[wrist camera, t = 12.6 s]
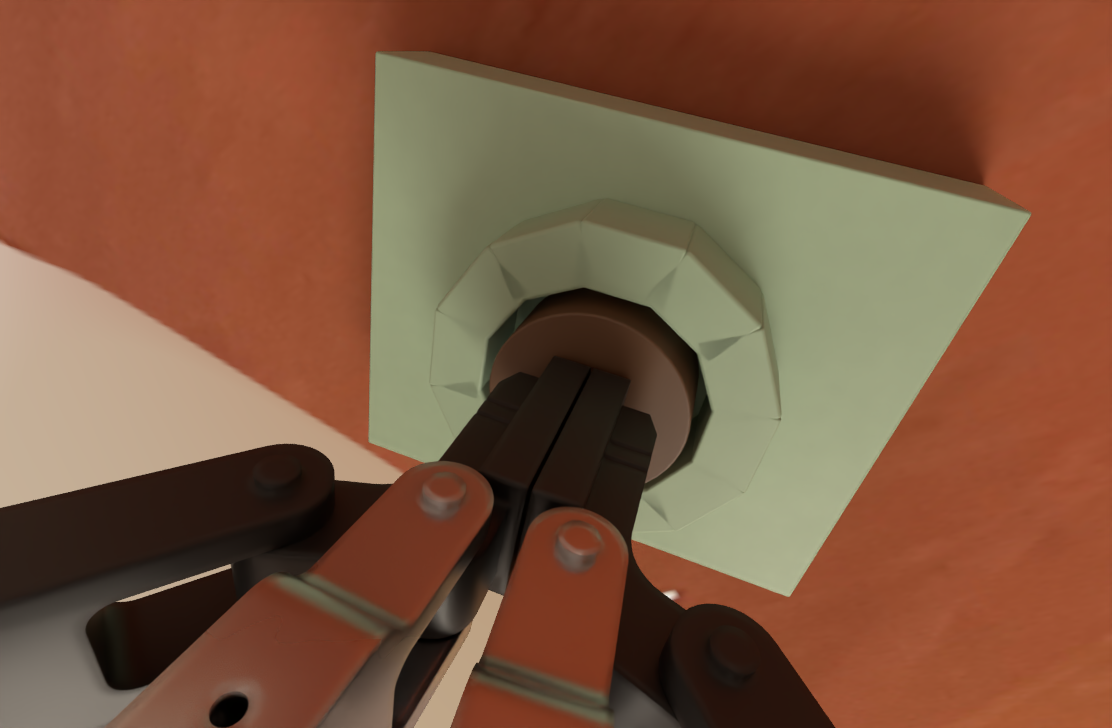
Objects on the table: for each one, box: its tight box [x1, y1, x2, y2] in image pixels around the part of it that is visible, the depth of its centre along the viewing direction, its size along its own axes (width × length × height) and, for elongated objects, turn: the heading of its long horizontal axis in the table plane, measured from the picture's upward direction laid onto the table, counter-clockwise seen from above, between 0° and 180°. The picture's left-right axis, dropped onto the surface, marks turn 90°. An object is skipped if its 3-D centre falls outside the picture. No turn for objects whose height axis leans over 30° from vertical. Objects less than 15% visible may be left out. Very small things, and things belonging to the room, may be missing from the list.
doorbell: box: [369, 51, 1031, 597], centre depth 13 cm, size 12×10×4 cm
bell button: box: [489, 287, 699, 483], centre depth 12 cm, size 4×4×2 cm
